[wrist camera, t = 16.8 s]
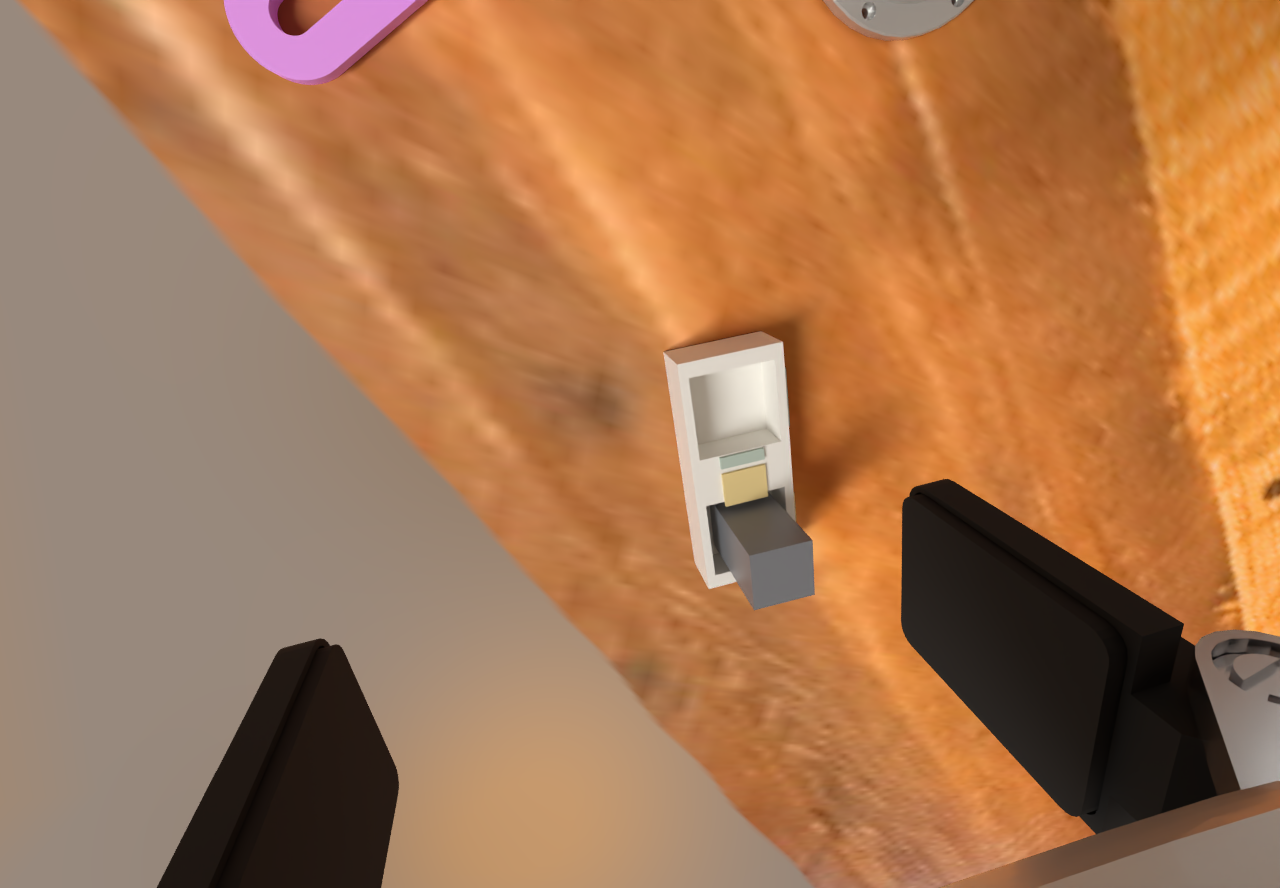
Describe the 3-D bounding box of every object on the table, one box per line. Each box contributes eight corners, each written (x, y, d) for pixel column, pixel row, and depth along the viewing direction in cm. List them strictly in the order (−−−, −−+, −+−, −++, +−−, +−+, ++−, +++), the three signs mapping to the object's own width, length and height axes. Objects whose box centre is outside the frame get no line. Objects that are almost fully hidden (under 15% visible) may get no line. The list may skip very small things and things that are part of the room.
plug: (761, 484, 44) (812, 540, 37) (765, 532, 46) (814, 594, 38) (708, 496, 43) (749, 555, 36) (713, 544, 45) (754, 610, 38)
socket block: (764, 330, 41) (787, 341, 37) (781, 540, 47) (802, 566, 44) (663, 351, 40) (677, 365, 37) (694, 562, 46) (709, 590, 43)
